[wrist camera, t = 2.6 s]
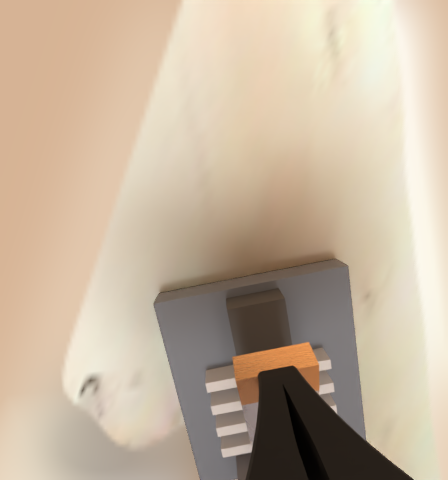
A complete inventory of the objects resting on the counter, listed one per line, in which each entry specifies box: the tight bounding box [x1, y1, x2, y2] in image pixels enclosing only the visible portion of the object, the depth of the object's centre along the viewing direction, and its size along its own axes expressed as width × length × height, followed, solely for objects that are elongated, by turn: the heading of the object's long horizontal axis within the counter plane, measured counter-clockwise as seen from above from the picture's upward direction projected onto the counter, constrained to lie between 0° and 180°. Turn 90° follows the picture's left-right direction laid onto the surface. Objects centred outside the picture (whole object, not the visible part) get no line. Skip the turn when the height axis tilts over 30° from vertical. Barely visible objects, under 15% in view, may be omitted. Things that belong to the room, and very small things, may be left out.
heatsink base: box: [154, 259, 366, 480], centre depth 15 cm, size 13×11×5 cm
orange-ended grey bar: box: [232, 342, 319, 447], centre depth 13 cm, size 12×3×1 cm, turn 11°
